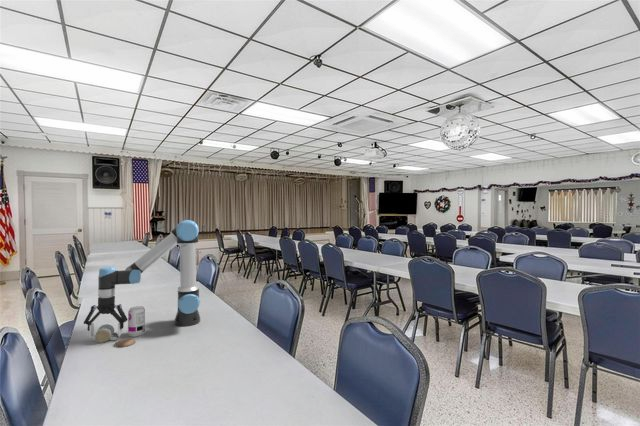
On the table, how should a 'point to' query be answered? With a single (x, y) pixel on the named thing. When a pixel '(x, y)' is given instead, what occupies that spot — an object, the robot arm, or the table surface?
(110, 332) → the ceramic mug
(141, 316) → the supplement can
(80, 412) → the table surface
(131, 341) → the walnut coaster
